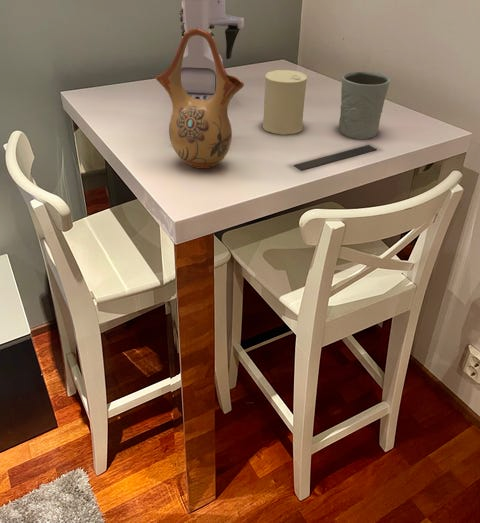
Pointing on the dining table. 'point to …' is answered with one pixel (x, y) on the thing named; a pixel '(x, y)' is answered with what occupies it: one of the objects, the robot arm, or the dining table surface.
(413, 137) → the dining table surface
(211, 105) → the ceramic vessel
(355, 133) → the embossed green cup
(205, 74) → the robot arm
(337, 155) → the strip
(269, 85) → the can
